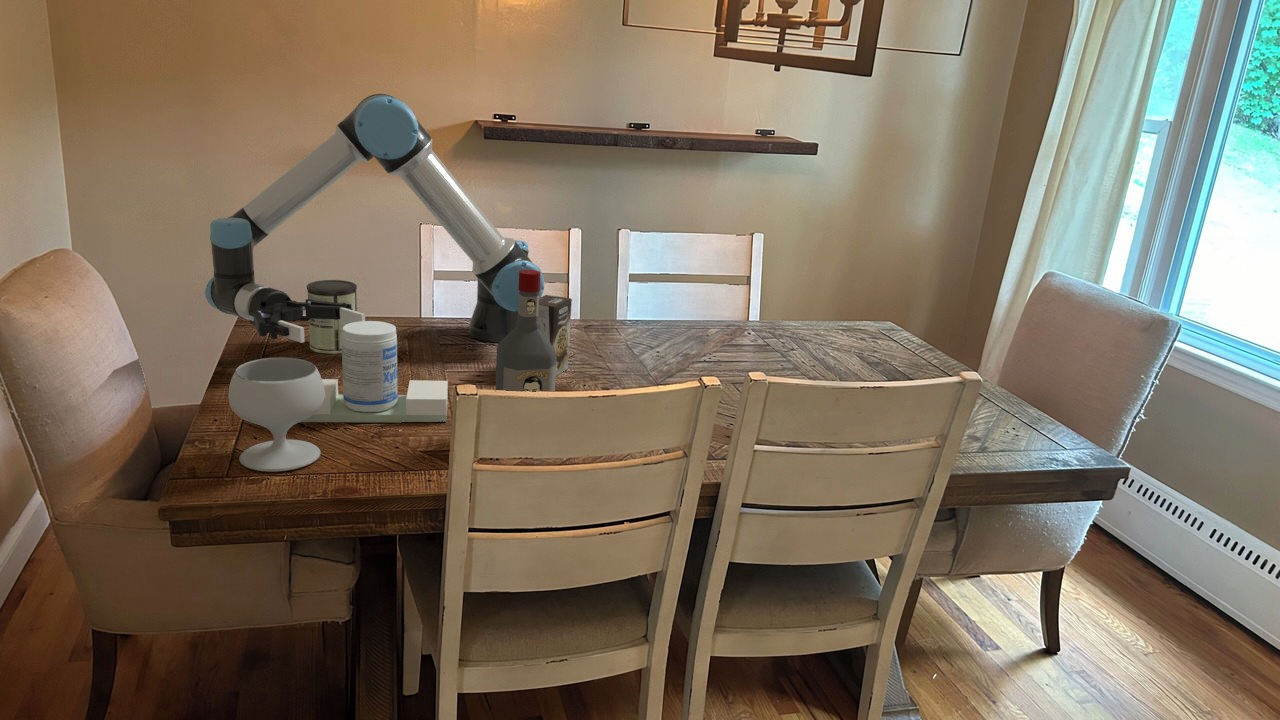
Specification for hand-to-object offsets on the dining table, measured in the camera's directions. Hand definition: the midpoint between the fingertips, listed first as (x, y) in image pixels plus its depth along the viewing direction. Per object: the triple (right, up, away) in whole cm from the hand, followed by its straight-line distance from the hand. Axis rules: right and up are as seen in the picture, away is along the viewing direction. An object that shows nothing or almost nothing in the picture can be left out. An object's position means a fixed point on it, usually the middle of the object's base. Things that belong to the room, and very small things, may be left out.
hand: (334, 328), depth 166 cm
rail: (+8, -15, -2) cm, 17 cm away
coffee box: (+37, -9, +27) cm, 46 cm away
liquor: (+36, -20, -8) cm, 42 cm away
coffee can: (-11, -3, +32) cm, 34 cm away
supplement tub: (+8, -14, -3) cm, 16 cm away
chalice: (-1, -22, -23) cm, 32 cm away
